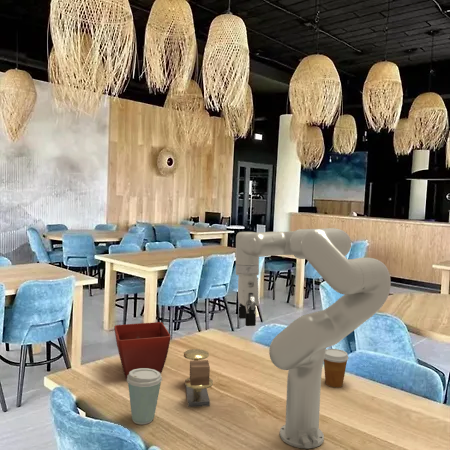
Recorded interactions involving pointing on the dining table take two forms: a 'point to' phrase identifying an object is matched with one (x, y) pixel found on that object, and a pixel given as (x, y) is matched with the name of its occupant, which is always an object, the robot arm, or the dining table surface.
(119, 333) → the plant pot
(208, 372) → the walnut block
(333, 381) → the disposable coffee cup
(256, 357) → the dining table surface
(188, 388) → the balance
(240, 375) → the dining table surface
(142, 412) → the disposable coffee cup
